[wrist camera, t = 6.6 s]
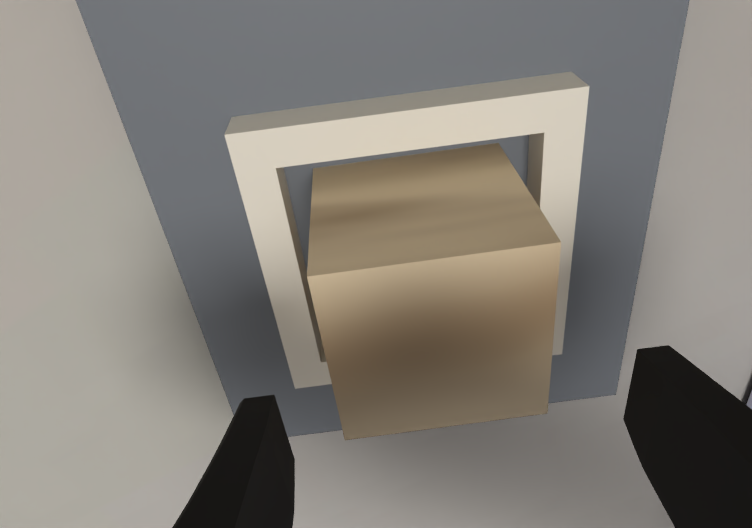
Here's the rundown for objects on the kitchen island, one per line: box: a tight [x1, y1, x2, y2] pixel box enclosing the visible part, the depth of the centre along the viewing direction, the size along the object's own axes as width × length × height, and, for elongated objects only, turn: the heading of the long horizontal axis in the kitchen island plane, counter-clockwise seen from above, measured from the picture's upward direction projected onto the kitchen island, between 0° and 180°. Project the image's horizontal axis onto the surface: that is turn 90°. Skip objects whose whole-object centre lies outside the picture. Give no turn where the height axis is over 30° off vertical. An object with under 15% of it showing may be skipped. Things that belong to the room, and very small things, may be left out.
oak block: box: [307, 143, 561, 440], centre depth 15 cm, size 5×5×5 cm
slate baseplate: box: [76, 0, 689, 437], centre depth 17 cm, size 16×14×2 cm
